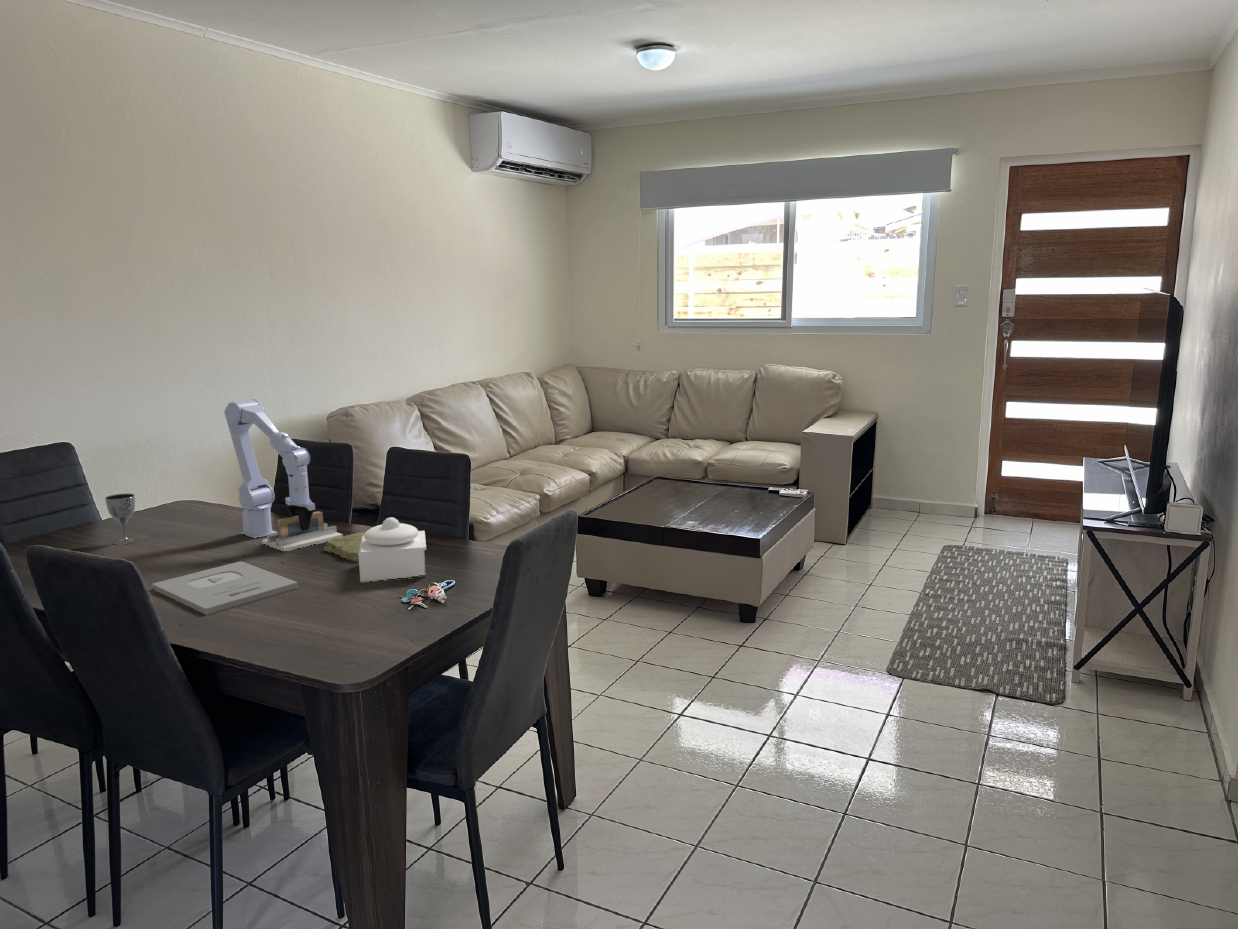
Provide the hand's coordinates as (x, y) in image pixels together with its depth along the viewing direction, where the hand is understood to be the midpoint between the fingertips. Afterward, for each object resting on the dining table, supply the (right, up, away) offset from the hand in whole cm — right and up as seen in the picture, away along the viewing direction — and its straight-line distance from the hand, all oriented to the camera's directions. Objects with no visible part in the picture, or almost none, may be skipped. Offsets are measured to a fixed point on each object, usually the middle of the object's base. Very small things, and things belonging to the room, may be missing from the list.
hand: (302, 528), depth 269 cm
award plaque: (-4, -13, -43) cm, 45 cm away
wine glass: (-57, -5, +1) cm, 57 cm away
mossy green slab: (+23, -7, -9) cm, 25 cm away
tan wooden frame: (0, -3, 0) cm, 3 cm away
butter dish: (+37, -10, -29) cm, 48 cm away
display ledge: (0, -4, +1) cm, 4 cm away
